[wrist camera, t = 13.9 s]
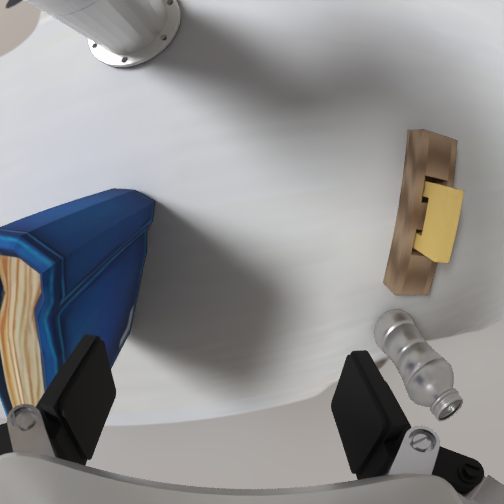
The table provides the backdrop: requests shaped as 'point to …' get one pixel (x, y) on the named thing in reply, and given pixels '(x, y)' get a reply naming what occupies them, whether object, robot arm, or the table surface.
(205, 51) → the table surface
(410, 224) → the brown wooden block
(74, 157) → the table surface
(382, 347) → the plastic bottle
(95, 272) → the book
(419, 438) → the robot arm
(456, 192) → the yellow notched flat block
